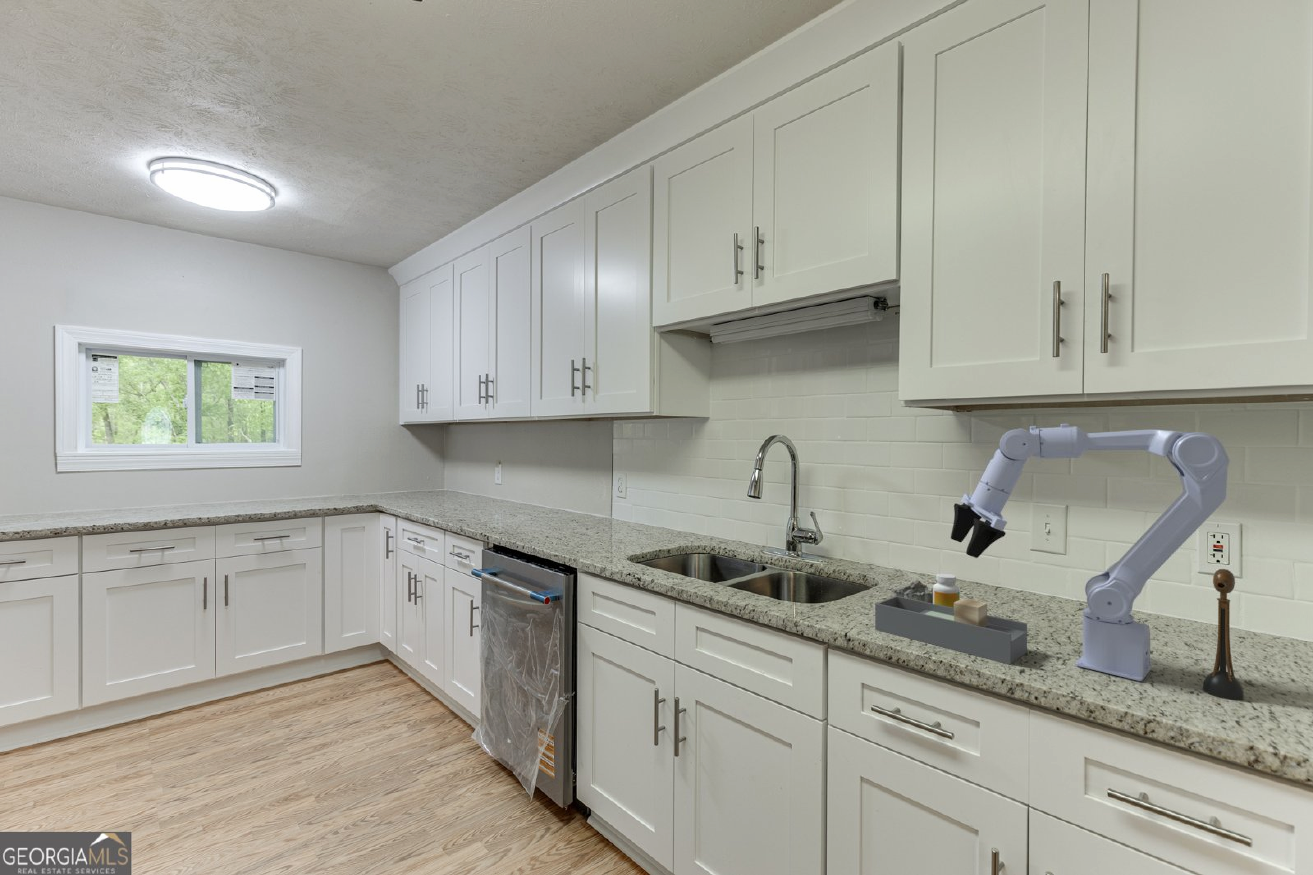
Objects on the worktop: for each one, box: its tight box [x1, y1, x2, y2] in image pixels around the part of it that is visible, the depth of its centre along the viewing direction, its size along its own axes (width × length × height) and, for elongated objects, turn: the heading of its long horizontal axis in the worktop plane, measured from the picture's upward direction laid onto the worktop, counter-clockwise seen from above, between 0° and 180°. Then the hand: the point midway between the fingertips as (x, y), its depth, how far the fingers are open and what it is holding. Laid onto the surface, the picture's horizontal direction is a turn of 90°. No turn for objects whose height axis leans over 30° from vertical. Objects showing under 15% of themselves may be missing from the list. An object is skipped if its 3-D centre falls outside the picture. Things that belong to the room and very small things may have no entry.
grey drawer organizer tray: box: [874, 595, 1028, 665], centre depth 121 cm, size 26×9×6 cm, turn 42°
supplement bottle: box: [932, 573, 961, 608], centre depth 135 cm, size 5×5×10 cm
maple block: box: [954, 598, 988, 628], centre depth 118 cm, size 4×4×4 cm
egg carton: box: [890, 580, 933, 603], centre depth 150 cm, size 11×8×4 cm
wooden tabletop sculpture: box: [1202, 568, 1244, 701], centre depth 96 cm, size 6×5×20 cm
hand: (963, 547), depth 120 cm, fingers open, 7 cm apart
